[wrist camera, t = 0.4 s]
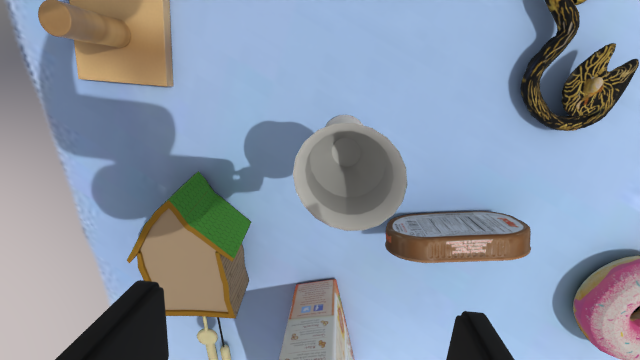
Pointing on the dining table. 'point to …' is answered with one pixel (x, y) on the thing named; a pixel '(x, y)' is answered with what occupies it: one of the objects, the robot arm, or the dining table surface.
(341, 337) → the cracker box
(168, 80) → the stand
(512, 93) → the dining table surface
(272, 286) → the dining table surface
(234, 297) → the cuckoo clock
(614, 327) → the donut
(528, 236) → the tin
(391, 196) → the chalice
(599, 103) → the toy snake
